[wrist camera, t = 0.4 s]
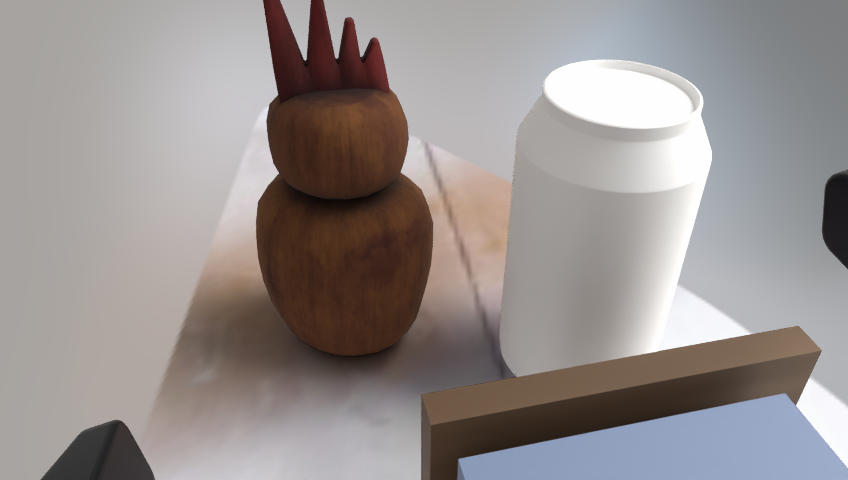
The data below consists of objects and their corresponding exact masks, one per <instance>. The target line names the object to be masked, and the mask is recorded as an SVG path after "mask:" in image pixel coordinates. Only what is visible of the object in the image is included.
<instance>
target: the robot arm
mask: <svg viewBox="0 0 848 480" xmlns="http://www.w3.org/2000/svg"><path fill="white" fill-rule="evenodd" d="M822 235H823V239H824V242H825V244H826V246H827V247H828V249H829V250H830V251H831V252H832V253H833V254H834V255H835V257H837V259H838V260H840V262H842V264H843V265H844V266H845V267H846V268H847V269H848V170H845V171H842V172H839V173H837V174H834V175H832V176H831V177H830V178H829V179H828V181H827V183H826V185H825V191H824V207H823V222H822ZM41 480H155V478H154V475H153V472H152V470H151V468H150V466H149V464H148V463H147V461H146V459H145V457H144V455H143V454H142V452H141V450H140V448H139V446H138V445H137V443H136V441H135V439H134V437H133V436H132V434H131V432H130V430H129V429H128V427H127V426H126V425H125V424H124V423H123V422H122V421H119V420H113V421H110V422H107V423H104V424H101V425H98V426H95V427H92V428H89V429H86V430H84V431H82V432H81V433H80V434H79V435H78V436H77V438H76V439H75V440H74V441H73V442H72V443H71V444H70V446H69V447H68V448H67V449H66V450H65V452H64V453H63V454H62V455H61V456H60V457H59V459H58V460H57V461H56V462H55V463H54V465H53V466H52V467H51V468H50V469H49V470H48V472H47V473H46V474H45V475H44V476H43V478H42V479H41Z"/></svg>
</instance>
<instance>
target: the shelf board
mask: <svg viewBox="0 0 848 480" xmlns="http://www.w3.org/2000/svg"><path fill="white" fill-rule="evenodd" d="M821 351H822V350H821V349H820V348H819V347H818V346H817V345H816V344H815V343H814V342H813V341H812V340H811V339H810V337H809V336H808V335H807V334H806V333H805V332H804V331H803V330H802V329H801V328H800V327H799V326H795V327H790V328H784V329H779V330H773V331H767V332H762V333H756V334H751V335H745V336H740V337H734V338H729V339H723V340H718V341H712V342H707V343H701V344H696V345H690V346H685V347H679V348H674V349H668V350H663V351H657V352H652V353H646V354H641V355H635V356H630V357H624V358H619V359H613V360H608V361H602V362H597V363H591V364H586V365H580V366H575V367H569V368H564V369H558V370H553V371H547V372H542V373H536V374H531V375H525V376H520V377H514V378H509V379H503V380H498V381H492V382H487V383H481V384H476V385H470V386H465V387H459V388H454V389H448V390H443V391H437V392H432V393H426V394H422V412H421V480H457V475H458V459H461V458H466V457H470V456H475V455H480V454H485V453H490V452H495V451H500V450H505V449H510V448H515V447H520V446H525V445H530V444H535V443H540V442H545V441H550V440H555V439H560V438H565V437H570V436H575V435H580V434H585V433H590V432H595V431H600V430H605V429H610V428H615V427H620V426H625V425H629V424H634V423H639V422H644V421H649V420H654V419H659V418H664V417H669V416H674V415H679V414H684V413H689V412H694V411H699V410H704V409H709V408H714V407H719V406H724V405H729V404H734V403H739V402H744V401H749V400H754V399H759V398H764V397H769V396H774V395H779V394H784V393H785V394H786V395H787V396H788V397H789V398H790V400H791V401H792V402H793V403H794V404H795V406H796V404H797V402H798V400H799V398H800V396H801V394H802V392H803V389H804V387H805V385H806V383H807V381H808V379H809V377H810V375H811V372H812V370H813V368H814V366H815V364H816V362H817V359H818V358H819V356H820V353H821Z"/></svg>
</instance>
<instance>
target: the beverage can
mask: <svg viewBox="0 0 848 480" xmlns="http://www.w3.org/2000/svg"><path fill="white" fill-rule="evenodd" d="M702 106H703V98H702V95H701V93H700V92H699V91H698V89H697V88H696V87H695V86H693V85H692V84H691V83H690V82H689V81H687V80H686V79H684V78H682V77H680V76H679V75H677V74H675V73H672V72H670V71H667V70H664V69H661V68H658V67H655V66H651V65H647V64H642V63H637V62H631V61H621V60H590V61H583V62H577V63H572V64H569V65H566V66H563V67H560V68H558V69H556V70H554V71H553V72H552V73H550V74H549V75H548V76H547V77H546V78H545V80H544V82H543V87H542V95H541V96H540V98H539V99H538V100H537V102H536V103H535V104H534V106H533V107H532V109H531V110H530V111H529V113H528V114H527V116H526V117H525V118H524V120H523V121H522V123H521V124H520V126H519V129H518V132H517V140H516V150H515V161H514V173H513V183H512V194H511V205H510V216H509V227H508V238H507V249H506V260H505V271H504V282H503V294H502V305H501V318H500V333H499V341H500V349H501V353H502V356H503V358H504V360H505V362H506V364H507V366H508V367H509V369H510V370H511V371H512V372H513V374H514V375H515V376H516V377H520V376H525V375H531V374H536V373H542V372H547V371H553V370H558V369H564V368H569V367H575V366H580V365H586V364H591V363H597V362H602V361H608V360H613V359H619V358H624V357H630V356H635V355H641V354H646V353H652V352H657V351H658V349H659V345H660V342H661V338H662V335H663V331H664V328H665V324H666V321H667V317H668V314H669V310H670V307H671V303H672V300H673V296H674V293H675V289H676V286H677V282H678V278H679V275H680V271H681V268H682V264H683V261H684V257H685V254H686V250H687V246H688V243H689V239H690V236H691V232H692V229H693V225H694V222H695V217H696V214H697V211H698V207H699V204H700V200H701V196H702V193H703V189H704V186H705V182H706V179H707V175H708V171H709V168H710V164H711V160H712V152H711V148H710V145H709V141H708V138H707V135H706V131H705V128H704V125H703V122H702V118H701V115H700V114H701V110H702Z"/></svg>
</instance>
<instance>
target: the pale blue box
mask: <svg viewBox="0 0 848 480" xmlns="http://www.w3.org/2000/svg"><path fill="white" fill-rule="evenodd" d="M457 480H848V468H847V467H846V466H845V465H844V463H843V462H842V461H841V460H840V459H839V457H838V456H837V455H836V454H835V453H834V451H833V450H832V449H831V448H830V447H829V445H828V444H827V443H826V442H825V441H824V439H823V438H822V437H821V436H820V434H819V433H818V432H817V431H816V430H815V428H814V427H813V426H812V425H811V424H810V422H809V421H808V420H807V419H806V418H805V416H804V415H803V414H802V413H801V412H800V410H799V409H798V408H797V407H796V406H795V404H794V403H793V402H792V401H791V400H790V398H789V397H788V396H787V395H786V394H785V393H784V394H779V395H774V396H769V397H764V398H759V399H754V400H749V401H744V402H739V403H734V404H729V405H724V406H719V407H714V408H709V409H704V410H699V411H694V412H689V413H684V414H679V415H674V416H669V417H664V418H659V419H654V420H649V421H644V422H639V423H634V424H629V425H625V426H620V427H615V428H610V429H605V430H600V431H595V432H590V433H585V434H580V435H575V436H570V437H565V438H560V439H555V440H550V441H545V442H540V443H535V444H530V445H525V446H520V447H515V448H510V449H505V450H500V451H495V452H490V453H485V454H480V455H475V456H470V457H466V458H461V459H458V475H457Z"/></svg>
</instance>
